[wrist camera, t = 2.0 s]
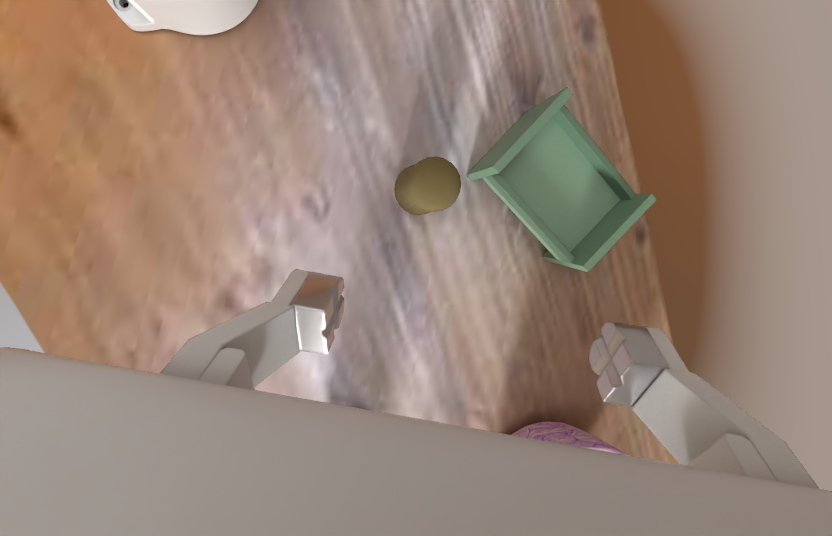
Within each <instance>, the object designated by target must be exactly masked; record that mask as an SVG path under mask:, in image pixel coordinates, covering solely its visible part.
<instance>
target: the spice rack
mask: <svg viewBox="0 0 832 536" xmlns="http://www.w3.org/2000/svg"><path fill="white" fill-rule="evenodd" d="M572 95H573V93H572V92H571V91H570V90H569V88H568V87H566V88H565V89H563V90H561V91H560V92H558V93H556V94H555V95H553V96H551V97H550V98H548V99H546V100H545V101H543V102H541V103H540V104H538V105H536V106H535V107H533V108H531V109H530V110H528V111H526V112H525V113H524V114H523V115H522V117H521V118H520V119H519V120H518V121H517V122H516V123H515V124H514V125H513V126H512V127H511V128H510V129H509V130H508V131H507V132H506V133H505V135H504V136H503V137H502V138H501V139H500V140H499V141H498V142H497V143H496V144H495V145H494V146H493V147H492V148H491V149H490V150H489V152H488V153H487V154H486V155H485V156H484V157H483V158H482V159H481V160H480V161H479V162H478V163H477V164H476V165H475V166H474V167H473V168H472V170H471V171H470V172H469V173H468V174H467V177H468V178H469V179H470V180H471V181H472V180H476V179H480V178H482V179H483V180H484V181H485V182H486V183H487V184H488V185H489V187H490V188H491V189H492V190H493V191H494V192H495V193H496V194H497V195H498V196H499V197H500V198H501V200H502V201H503V202H504V203H505V204H506V205H507V206H508V207H509V208H510V209H511V210H512V211H513V213H514V214H515V215H516V216H517V217H518V218H519V219H520V220H521V221H522V222H523V223H524V224H525V226H526V227H527V228H528V229H529V230H530V231H531V232H532V233H533V234H534V235H535V236H536V237H537V239H538V240H539V241H540V242H541V243H542V244H543V245H544V246H545V247H546V248H547V249H548V250H547V251H546V252H545V253H544V254H543V256H542V257H543V258H544V259H545V260H546V261H548V262H552V263H556V264H559V265H563V266H567V267H571V268H575V269H578V270H582V271H586V272H589V271H590V270H591V269H592V267H593V266H594V265H595V264H596V263H597V262H598V261H599V260H600V259H601V258H602V257H603V256H604V255H605V254H606V253H607V252H608V251H609V250H610V248H611V247H612V246H613V245H614V244H615V243H616V242H617V241H618V240H619V239H620V238H621V237H622V236H623V235H624V234H625V233H626V232H627V231H628V230H629V228H630V227H631V226H632V225H633V224H634V223H635V222H636V221H637V220H638V219H639V218H640V217H641V216H642V215H643V214H644V213H645V212H646V211H647V209H648V208H649V207H650V206H651V205H652V204H653V203H654V202H655V201H656V198H655V197H654V196H653V195H652V194H637V195H636V193H635V192H634V191H633V190H632V188H631V187H630V186H629V185H628V183H627V182H626V181H625V180H624V178H623V177H622V176H621V175H620V173H619V172H618V171H617V170H616V169H615V167H614V166H613V165H612V164H611V162H610V161H609V160H608V159H607V157H606V156H605V155H604V154H603V152H602V151H601V150H600V149H599V147H598V146H597V145H596V144H595V142H594V141H593V140H592V139H591V137H590V136H589V135H588V134H587V132H586V131H585V130H584V129H583V127H582V126H581V125H580V124H579V122H578V121H577V120H576V119H575V117H574V116H573V115H572V114H571V112H570V111H569V110H568V109H567V107H566V106H565V105H564V104H565V103H566V102H567V101H568V100H569V98H570V97H571V96H572Z"/></svg>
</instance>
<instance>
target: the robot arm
mask: <svg viewBox="0 0 832 536" xmlns="http://www.w3.org/2000/svg"><path fill="white" fill-rule="evenodd" d="M107 2H108V3H109V4H110V5H111V7H112V8H113V9H114V11H115V12H116V13H117V14H118V16H119V17H120V18H121V19H122V20H123V22H124V23H125V24H126V25H127V26H128V27H130V28H131V29H133V30H135V31H152V30H158V29H170V30H174V31H178V32H182V33H186V34H192V35H211V34H217V33H221V32H224V31H226V30H229V29H231V28H233V27H235V26H236V25H238V24H239V23H241V22H242V21H243V20H244V19H245V18H246V17H247V16H248V15H249V14H250V13H251V12H252V10H253V9H254V7H255V6H256V4H257V2H258V0H107ZM127 2H128V3H129V5H128V7H127V8H124V4H125V3H127ZM343 289H344V279H343V278H342V277H337V276H332V275H326V274H321V273H316V272H309V271H304V270H298V269H295V270H294V271H292V272H291V274H290V275H289V277H288V278H287V280H286V281H285V283H284V284H283V286H282V287H281V289H280V290H279V292H278V293H277V294H276V296H275V297H274V299H273V300H272V302H265V303H263V304H261V305H259V306H257V307H255V308H252V309H250V310H248V311H246V312H244V313H242V314H240V315H238V316H236V317H234V318H232V319H230V320H228V321H226V322H224V323H221V324H219V325H217V326H215V327H213V328H211V329H209V330H207V331H205V332H203V333H201V334H199V335H197V336H195V337H193V338H191V339H189V340H188V341H187V342H186V343H185V345H184V346H183V347H182V348H181V349H180V350H179V352H178V353H177V354H176V355H175V356H174V357H173V359H172V360H171V361H170V362H169V363H168V364H167V366H166V367H165V368H164V369H163V370H162V371H161V373H160V374H159V373H154V372H148V371H142V370H136V369H131V368H125V367H119V366H113V365H108V364H102V363H96V362H90V361H85V360H79V359H73V358H67V357H62V356H56V355H50V354H45V353H40V352H35V351H30V350H25V349H17V348H9V347H4V348H0V536H832V491H828V490H822V489H819V487H818V486H817V485H816V483H815V482H814V480H813V479H812V478H811V476H810V475H809V474H808V473H807V471H806V470H805V468H804V467H803V465H802V464H801V463H800V461H799V460H798V459H797V457H796V456H795V455H794V453H793V452H792V451H791V449H790V448H789V447H788V445H787V444H786V442H785V441H783V440H782V439H781V438H779V437H778V436H777V435H775V434H774V433H773V432H771V431H770V430H769V429H768V428H766V427H765V426H764V425H762V424H761V423H760V422H758V421H757V420H756V419H754V418H753V417H752V416H750V415H749V414H748V413H746V412H745V411H743V410H742V409H741V408H740V407H738V406H737V405H736V404H734V403H733V402H732V401H730V400H729V399H728V398H727V397H725V396H724V395H722V394H721V393H720V392H719V391H717V390H716V389H715V388H713V387H712V386H711V385H709V384H708V383H707V382H705V381H704V380H703V379H701V378H700V377H699V376H698V375H696V374H695V373H689V371H688V369H687V368H686V366H685V365H684V363H683V361H682V360H681V358H680V356H679V355H678V353H677V352H676V350H675V348H674V347H673V345H672V343H671V342H670V340H669V339H668V337H667V335H666V334H665V332H664V331H662V330H661V329H658V328H651V327H644V326H642V327H641V326H635V325H629V324H623V323H616V322H610V321H608V322H607V323H605V324H604V326H603V327H602V329H601V333H602V337H600V338H598V339H596V340H594V342H593V344H592V346H591V348H590V353H589V361H590V366H591V369H592V371H594V372H595V373H596V374H597V375H598V376H599V378H598V380H597V382H596V383H597V386H598V389H599V392H600V395H601V398H602V400H603V402H608V403H613V404H618V405H623V406H628V407H632V408H631V409H632V410H633V411H634V412H635V413H636V414H637V415H638V417H639V418H640V419H641V420H642V421H643V422H644V423H645V425H646V426H647V427H648V428H649V429H650V430H651V432H652V433H653V434H654V435H655V436H656V437H657V438H658V440H659V441H660V442H661V443H662V444H663V445H664V446H665V448H666V449H667V450H668V451H669V452H670V453H671V455H672V456H673V457H674V458H675V459H676V460H677V461H678V463H679V464H674V463H668V462H663V461H657V460H651V459H646V458H640V457H634V456H628V455H623V454H617V453H611V452H606V451H600V450H594V449H588V448H583V447H577V446H571V445H565V444H560V443H554V442H548V441H542V440H537V439H531V438H525V437H520V436H514V435H508V434H502V433H497V432H491V431H485V430H480V429H474V428H468V427H463V426H457V425H451V424H445V423H440V422H434V421H428V420H423V419H417V418H411V417H405V416H400V415H394V414H388V413H383V412H377V411H371V410H365V409H360V408H354V407H348V406H342V405H337V404H331V403H325V402H320V401H314V400H308V399H302V398H297V397H291V396H285V395H280V394H274V393H268V392H262V391H257V390H255V389H254V387H255V386H257V385H258V384H259V383H261V382H262V381H263V380H264V379H266V378H267V377H268V376H270V375H271V374H272V373H273V372H275V371H276V370H277V369H279V368H280V367H281V366H283V365H284V364H285V363H286V362H288V361H289V360H290V359H292V358H293V357H294V356H295V355H297V354H298V353H299V352H300V351H307V352H314V353H321V354H328V352H329V350H330V347H331V345H332V342H333V340H334V330H335V329H337V328H338V327H339V325H340V323H341V320H342V316H343V312H344V298H343V296H342V295H341V294H342V292H343Z"/></svg>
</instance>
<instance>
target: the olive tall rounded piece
mask: <svg viewBox="0 0 832 536" xmlns="http://www.w3.org/2000/svg"><path fill="white" fill-rule="evenodd" d="M460 187H461V180H460V175H459V173H458V171H457V169H456V168H455V166H454V165H453V164H452V163H451V162H449V161H447V160H446V159H444V158H440V157H429V158H426V159H424V160H422V161H420V162H419V163H418V164H417V165H414V166H410V167H408V168H406V169H404V170H403V171H402V172H401V173H400V174H399V176H398V178H397V180H396V183H395V196H396V199H397V201H398V203H399V205H400V206H401V207H402V208H403V209H404V210H406V211H407V212H409V213H411V214H417V215H420V214H426V213H428V212H430V211H440V210H444V209H446V208H448V207H449V206H451V205H452V204H453V203H454V202H455V201H456V199H457V197H458V195H459V193H460Z"/></svg>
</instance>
